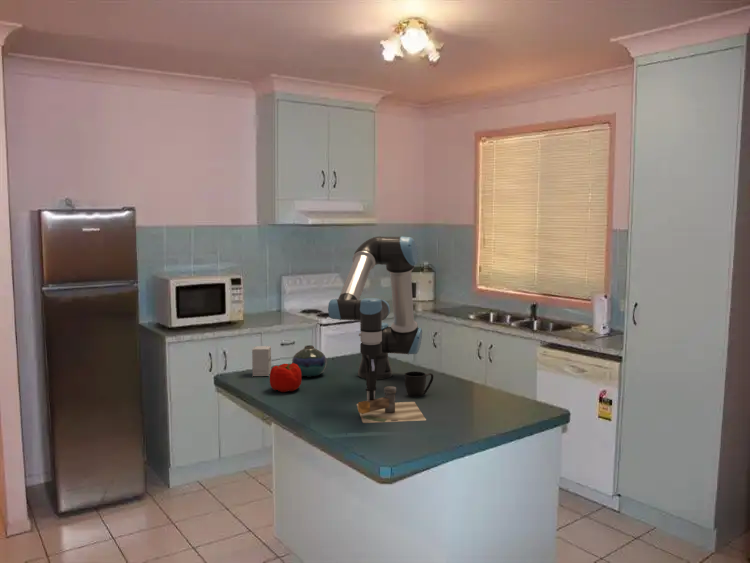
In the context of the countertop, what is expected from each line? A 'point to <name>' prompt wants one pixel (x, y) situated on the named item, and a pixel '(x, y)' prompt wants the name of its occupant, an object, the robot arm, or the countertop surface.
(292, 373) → the tomato
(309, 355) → the vase
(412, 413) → the dial board
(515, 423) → the countertop surface
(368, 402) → the peg lever
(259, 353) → the supplement box
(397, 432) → the countertop surface
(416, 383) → the mug
